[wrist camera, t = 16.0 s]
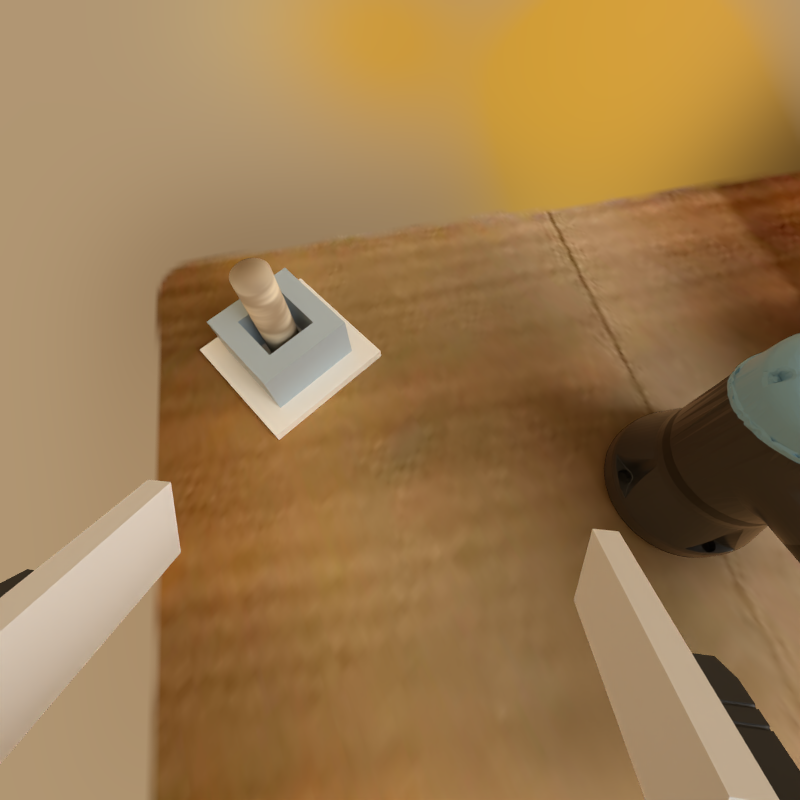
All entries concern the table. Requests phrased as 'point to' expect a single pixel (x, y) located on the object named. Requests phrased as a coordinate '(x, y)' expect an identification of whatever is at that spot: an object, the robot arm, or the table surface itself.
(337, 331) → the socket block
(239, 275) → the birch peg
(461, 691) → the table surface
